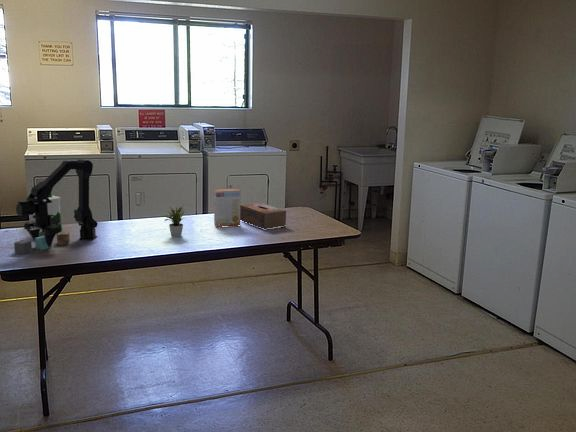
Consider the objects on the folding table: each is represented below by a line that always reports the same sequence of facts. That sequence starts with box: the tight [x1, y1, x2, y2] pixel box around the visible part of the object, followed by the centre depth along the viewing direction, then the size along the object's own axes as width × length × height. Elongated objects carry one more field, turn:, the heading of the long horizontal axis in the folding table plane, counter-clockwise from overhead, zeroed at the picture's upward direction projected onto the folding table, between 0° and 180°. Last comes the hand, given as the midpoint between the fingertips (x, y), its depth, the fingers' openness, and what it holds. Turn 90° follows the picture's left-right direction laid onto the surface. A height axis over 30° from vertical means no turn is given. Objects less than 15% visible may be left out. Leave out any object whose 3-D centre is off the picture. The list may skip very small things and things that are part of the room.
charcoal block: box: [13, 239, 33, 255], centre depth 249 cm, size 5×5×5 cm
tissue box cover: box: [240, 202, 287, 229], centre depth 316 cm, size 26×14×10 cm, turn 37°
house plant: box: [160, 205, 186, 238], centre depth 284 cm, size 14×14×16 cm
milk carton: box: [41, 192, 63, 233], centre depth 285 cm, size 9×9×20 cm
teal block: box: [34, 235, 53, 251], centre depth 257 cm, size 5×5×5 cm
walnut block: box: [56, 231, 71, 245], centre depth 266 cm, size 5×5×5 cm
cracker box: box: [213, 188, 241, 228], centre depth 308 cm, size 14×6×21 cm, turn 111°
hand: (43, 245), depth 257 cm, fingers open, 8 cm apart
